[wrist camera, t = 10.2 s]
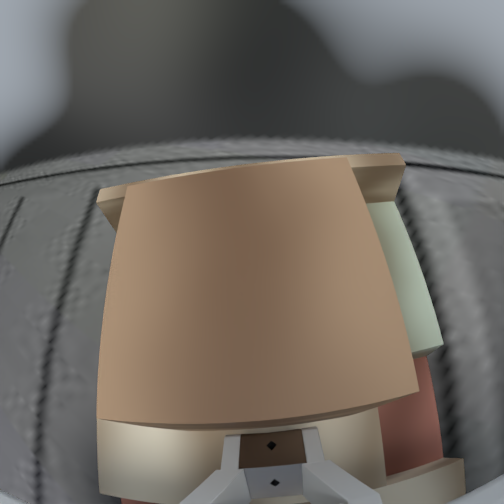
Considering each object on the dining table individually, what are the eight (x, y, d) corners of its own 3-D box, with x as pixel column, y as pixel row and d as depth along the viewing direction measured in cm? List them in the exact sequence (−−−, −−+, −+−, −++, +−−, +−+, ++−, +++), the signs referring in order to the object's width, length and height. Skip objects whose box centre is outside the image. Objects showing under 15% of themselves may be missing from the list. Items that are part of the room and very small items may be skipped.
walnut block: (325, 274, 16) (346, 157, 9) (351, 415, 12) (419, 391, 5) (187, 290, 16) (127, 186, 10) (188, 431, 12) (96, 418, 6)
